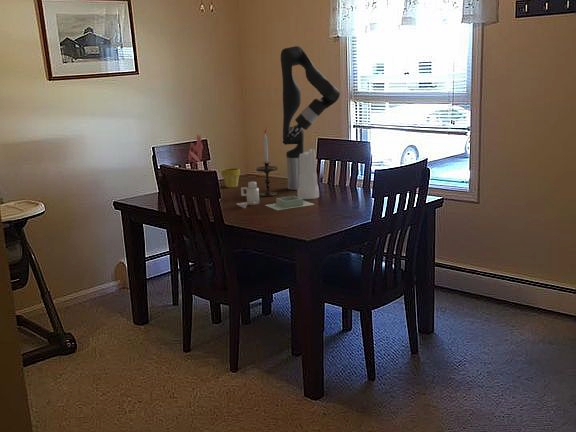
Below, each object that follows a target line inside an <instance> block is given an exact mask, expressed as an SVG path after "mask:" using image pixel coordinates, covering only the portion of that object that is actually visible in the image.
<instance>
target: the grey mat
mask: <svg viewBox="0 0 576 432" xmlns="http://www.w3.org/2000/svg"><path fill="white" fill-rule="evenodd" d="M236 206H237V207H241V208H242V209H246V208H247V206H249V204H247V201H246V202H237V203H236Z"/></svg>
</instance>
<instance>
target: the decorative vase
mask: <svg viewBox="0 0 576 432" xmlns="http://www.w3.org/2000/svg"><path fill="white" fill-rule="evenodd" d="M316 159H317V158H316V149H315V148H310V149H308V150H307V151H305V150H304V152H303V153H302V154H300V155H299V165H300V174H299V187H298V190H296V191H297V193H296V194H297V197H299V198H302V199H303V200H312V199H313V200H315V199H318V198H320V189H319V185H318V174H317V161H316Z"/></svg>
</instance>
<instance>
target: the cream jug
mask: <svg viewBox="0 0 576 432" xmlns="http://www.w3.org/2000/svg"><path fill="white" fill-rule="evenodd" d="M244 190H246V193H244V192H245V191H244ZM240 194H241V197H246V202H247V204H248V206H249V205H250V206H253V205H254V206H255V205H259V204H260V195H259V194H260V188H259V187H258V186H257V181H248V182H247V186H246V187H242V186H241V188H240Z"/></svg>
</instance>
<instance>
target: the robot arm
mask: <svg viewBox="0 0 576 432" xmlns="http://www.w3.org/2000/svg"><path fill="white" fill-rule="evenodd" d="M294 66H301V67H302V68H304V70H305V77H306V80H307V81H308V82H309V84H311V85H312V86H313V88H314V89H315V90H317V92H319V94H320V95H322V97H321V98H315V99H313V100H312V101H311V102H310V104H308V106H306V107H305V108H304V109H303V110H302V112H301V113H299V114H298V116H297V117H295V119H294V122H296V123H297V124H296V125H293V126H290V125H291V122H292V119H293V117H294V116H295V114H296V112H297V111H298V110H299V108H300V105H301V103H302V102H301V98H302V97H301V95H302V94H301V88H300V86H299V85H298V83H297V82H296V80H295V79H294V75H293V67H294ZM280 68H281V76H282V107H283V108H282V110H283V112H282V113H283V119H282V143H283V145H285V146H286V145H296V146H295V147H294V148H293V149H290V150H287V151H286V155H285V156H286V170H287V171H286V173H287V174H286V175H287V176H286V177H287V189H288V190H292V191H298V187H299V174H300V165H299V155H300V154H302V153H303V152H304V151H305V150H304V130H305V131H307V130H308V129H309V128H310V127H311V125H313V123H315V121H317V119H318V118H319V116H320V115H321V114H322V113H323V112H324V111H325V110H326V109H328V108H329V107H331V106H332V105H334V104H335V103H336V102H337V101H338V100H339V99H340V95H341V93H340V90H339V89H338V88H337V87H336V86H334V84H333V83H331V82H330V81H329V80H328V79H327V77H325V75H324V74H323V73H322V72H321V71H320V70H318V68H316V66H315V65H314V64H313V62H312V61H311V59H310V57H309V56H308V55H307V53H306V52H305V51H304V49H303V48H302V47H300V46H298V45H295V46H290V47H286V48H283V49H282V50H281V53H280Z"/></svg>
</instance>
